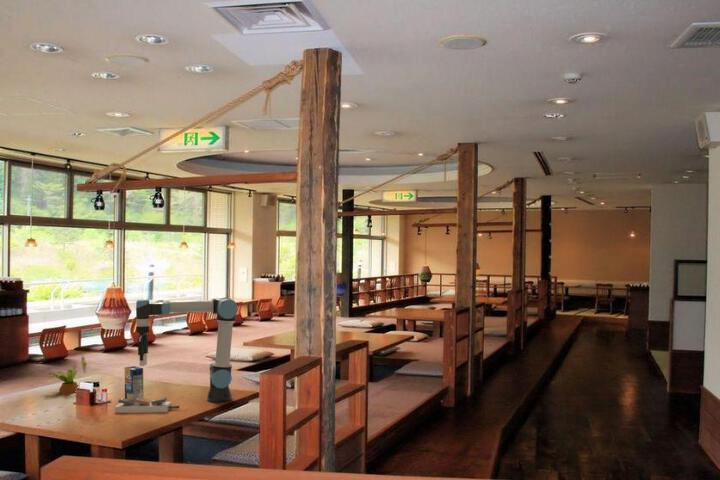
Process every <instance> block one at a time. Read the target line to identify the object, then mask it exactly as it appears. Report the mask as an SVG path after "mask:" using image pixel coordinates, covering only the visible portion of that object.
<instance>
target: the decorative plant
mask: <svg viewBox="0 0 720 480" xmlns="http://www.w3.org/2000/svg"><path fill="white" fill-rule="evenodd" d="M80 359H81V361H80V363H81V364H80V366H81V367H82V370H83V373H84V375H86V373H87V365H88V363H87V361H86V359H85V356H84V355H81V357H80ZM75 369H76V364H74V365H73V367H72V370H71V369H67V373H66V375H65V374H64V372H62V371H58V374H61V375H58V374H56V373H53V372H48V375H49V377H48V378H49V379H51V378H52V379H53V378H56V379H58V380H61V381H62V384H61V385H60V388H58V389H59V390H58V394H61V395H67V394H68V395H69V394H76V393H75V391H76V388H77V387H78V386H79V384H77V383H78V382H77V381H74V378H75V376H76V375H77V372H78V370H75ZM50 375H51V376H50Z"/></svg>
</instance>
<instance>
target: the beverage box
mask: <svg viewBox="0 0 720 480" xmlns="http://www.w3.org/2000/svg"><path fill="white" fill-rule="evenodd" d="M137 398H141V399H144V368H143V367H141V366H136V365H134V366H126V367H124V399H129V400H134V401H135V399H137Z"/></svg>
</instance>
